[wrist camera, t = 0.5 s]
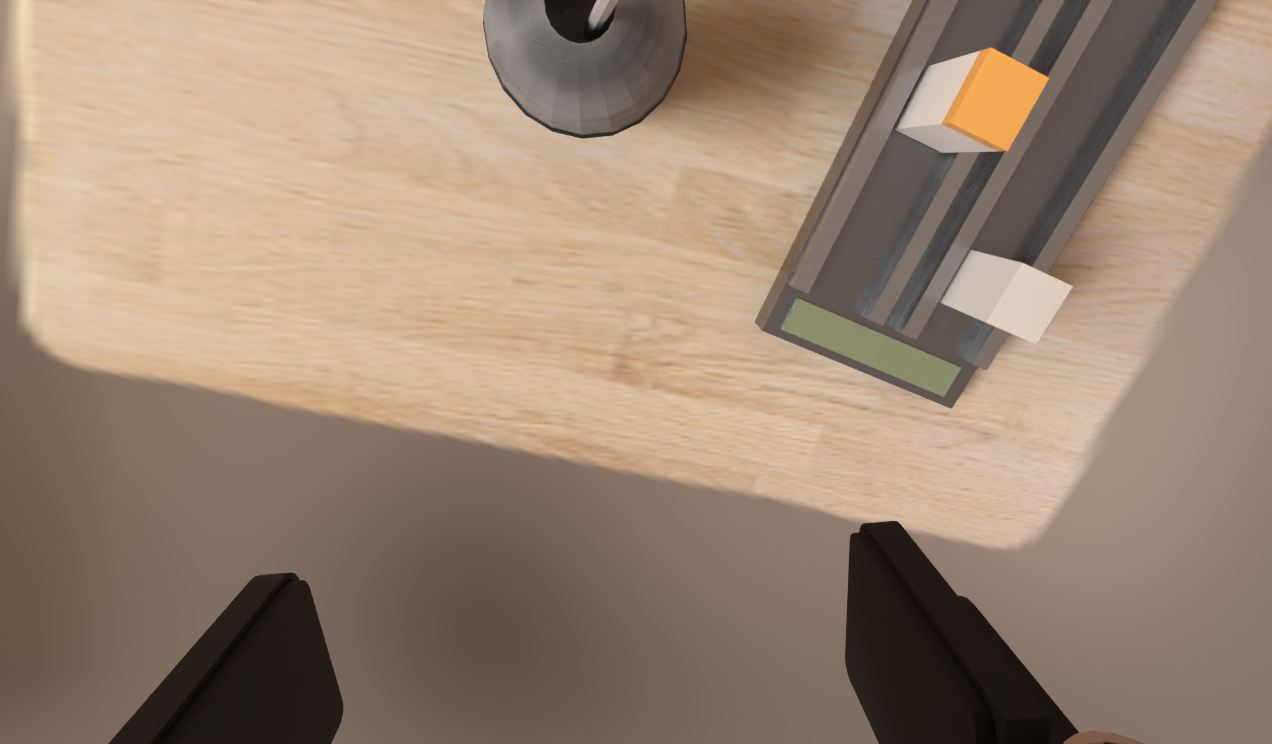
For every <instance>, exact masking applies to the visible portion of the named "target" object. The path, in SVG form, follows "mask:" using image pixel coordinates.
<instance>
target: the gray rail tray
mask: <svg viewBox="0 0 1272 744" xmlns="http://www.w3.org/2000/svg"><path fill="white" fill-rule="evenodd" d="M1216 2H1217V0H913V1H912V3H911V5H910V7H909V9H908V11H907V13H906V15H905V17H904V19H903V21H902V23H901V25H900V27H899V29H898V31H897V33H896V35H895V37H894V39H893V41H892V43H891V45H890V48H889V50H888V52H887V54H886V56H885V58H884V60H883V62H882V64H881V66H880V68H879V70H878V72H877V74H876V76H875V78H874V80H873V82H872V84H871V86H870V88H869V90H868V92H867V94H866V96H865V98H864V100H863V103H862V105H861V107H860V109H859V111H858V113H857V115H856V117H855V119H854V121H853V123H852V125H851V127H850V129H849V131H848V133H847V135H846V137H845V139H844V141H843V143H842V145H841V147H840V149H839V151H838V153H837V155H836V158H835V160H834V162H833V164H832V166H831V168H830V170H829V172H828V174H827V176H826V178H825V180H824V182H823V184H822V186H821V188H820V190H819V192H818V194H817V196H816V198H815V200H814V202H813V204H812V206H811V208H810V210H809V212H808V215H807V217H806V219H805V221H804V223H803V225H802V227H801V229H800V231H799V233H798V235H797V237H796V239H795V241H794V243H793V245H792V247H791V249H790V251H789V253H788V255H787V257H786V259H785V261H784V263H783V265H782V267H781V270H780V272H779V274H778V276H777V278H776V280H775V282H774V284H773V286H772V288H771V290H770V292H769V294H768V296H767V298H766V300H765V302H764V304H763V306H762V308H761V310H760V312H759V314H758V316H757V318H756V320H755V323H756V324H757V325H758V326H759V327H760V329H761V330H762V331H765V332H767V333H769V334H772V335H774V336H777V337H779V338H782V339H784V340H786V341H789V342H791V343H794V344H796V345H799V346H801V347H803V348H806V349H808V350H811V351H813V352H815V353H818V354H820V355H823V356H825V357H828V358H830V359H832V360H835V361H837V362H840V363H842V364H845V365H847V366H849V367H852V368H854V369H857V370H859V371H862V372H864V373H866V374H869V375H871V376H874V377H876V378H879V379H881V380H883V381H886V382H888V383H891V384H893V385H896V386H898V387H900V388H903V389H905V390H908V391H910V392H912V393H915V394H917V395H920V396H922V397H925V398H927V399H929V400H932V401H934V402H937V403H939V404H942V405H944V406H946V407H949V408H951V409H952V407H953V406H954V404H955V402H956V401H957V399H958V398H959V396H960V394H961V393H962V391H963V390H964V388H965V386H966V385H967V383H968V381H969V380H970V378H971V377H972V375H973V373H974V372H975V370H976V369H977V367H980V368H983V369H985V370H987V369H988V367H989V365H990V364H991V362H992V361H993V359H994V357H995V356H996V354H997V353H998V351H999V349H1000V348H1001V346H1002V345H1003V343H1004V341H1005V340H1006V338H1007V337H1008V335H1009V333H1008V332H1006V331H1004V330H1001V329H999V328H997V327H995V326H992V325H990V324H988V323H985V322H983V321H981V320H978V319H976V318H974V317H972V316H969V315H967V314H965V313H963V312H960V311H958V310H956V309H954V308H951V307H949V306H947V305H945V304H942V303H940V302H939V300H940V298H941V296H942V295H943V293H944V291H945V290H946V288H947V286H948V284H949V283H950V281H951V279H952V277H953V276H954V274H955V272H956V271H957V269H958V267H959V265H960V264H961V262H962V260H963V258H964V257H965V255H966V253H967V252H968V250H973V251H977V252H981V253H985V254H989V255H993V256H997V257H1001V258H1005V259H1009V260H1013V261H1017V262H1021V263H1024V264H1026V265H1028V266H1031V267H1033V268H1035V269H1037V270H1039V271H1041V272H1043V273H1046V274H1047V273H1048V271H1049V269H1050V268H1051V266H1052V265H1053V263H1054V261H1055V260H1056V258H1057V257H1058V255H1059V253H1060V252H1061V250H1062V249H1063V247H1064V245H1065V244H1066V242H1067V241H1068V239H1069V237H1070V236H1071V234H1072V233H1073V231H1074V229H1075V228H1076V226H1077V225H1078V223H1079V221H1080V220H1081V218H1082V217H1083V215H1084V213H1085V212H1086V210H1087V209H1088V207H1089V205H1090V204H1091V202H1092V201H1093V199H1094V197H1095V196H1096V194H1097V193H1098V191H1099V189H1100V188H1101V186H1102V185H1103V183H1104V181H1105V180H1106V178H1107V177H1108V175H1109V173H1110V172H1111V170H1112V169H1113V167H1114V165H1115V164H1116V162H1117V161H1118V159H1119V157H1120V156H1121V154H1122V153H1123V151H1124V149H1125V148H1126V146H1127V145H1128V143H1129V141H1130V140H1131V138H1132V137H1133V135H1134V133H1135V132H1136V130H1137V129H1138V127H1139V125H1140V124H1141V122H1142V121H1143V119H1144V117H1145V116H1146V114H1147V113H1148V111H1149V109H1150V108H1151V106H1152V105H1153V103H1154V101H1155V100H1156V98H1157V97H1158V95H1159V93H1160V92H1161V90H1162V89H1163V87H1164V85H1165V84H1166V82H1167V81H1168V79H1169V77H1170V76H1171V74H1172V73H1173V71H1174V69H1175V68H1176V66H1177V64H1178V63H1179V61H1180V60H1181V58H1182V56H1183V55H1184V53H1185V52H1186V50H1187V48H1188V47H1189V45H1190V44H1191V42H1192V40H1193V39H1194V37H1195V36H1196V34H1197V32H1198V31H1199V29H1200V28H1201V26H1202V24H1203V23H1204V21H1205V20H1206V18H1207V16H1208V15H1209V13H1210V12H1211V10H1212V8H1213V7H1214V5H1215V4H1216ZM987 48H993V49H995V50H997V51H999V52H1001V53H1003V54H1005V55H1007V56H1009V57H1010V58H1012V59H1014V60H1016V61H1018V62H1020V63H1022V64H1024V65H1026V66H1028V67H1029V68H1031V69H1033V70H1035V71H1037V72H1039V73H1041V74H1043V75H1045V76H1047V77H1049V80H1048V82H1047V83H1046V85H1045V87H1044V89H1043V90H1042V92H1041V94H1040V96H1039V97H1038V99H1037V101H1036V103H1035V104H1034V106H1033V108H1032V110H1031V111H1030V113H1029V115H1028V117H1027V118H1026V120H1025V122H1024V124H1023V125H1022V127H1021V129H1020V131H1019V132H1018V134H1017V136H1016V138H1015V139H1014V141H1013V143H1012V145H1011V146H1010V148H1009V150H1008V151H997V152H955V153H941V152H939V151H937V150H935V149H933V148H931V147H929V146H927V145H925V144H923V143H921V142H919V141H917V140H915V139H913V138H911V137H909V136H907V135H904V134H902V133H900V132H898V131H896V130H894V128H895V126H896V124H897V122H898V120H899V118H900V116H901V114H902V112H903V110H904V108H905V106H906V104H907V102H908V100H909V98H910V96H911V94H912V92H913V90H914V88H915V86H916V85H917V83H918V81H919V79H920V77H921V75H922V73H923V71H924V69H925V67H927V66H931V65H934V64H937V63H941V62H944V61H947V60H951V59H954V58H957V57H961V56H964V55H967V54H971V53H974V52H977V51H981V50H984V49H987Z"/></svg>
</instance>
